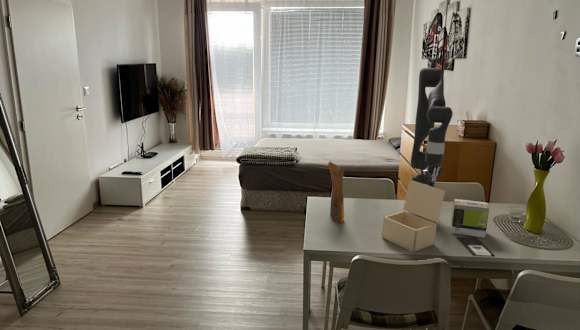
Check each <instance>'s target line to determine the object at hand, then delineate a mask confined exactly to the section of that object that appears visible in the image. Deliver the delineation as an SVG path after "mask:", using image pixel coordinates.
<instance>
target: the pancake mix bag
mask: <svg viewBox="0 0 580 330" xmlns="http://www.w3.org/2000/svg"><path fill="white" fill-rule="evenodd" d="M327 164H328V169H329V172H330V178H331V184H332V185H331V198H330V209H329V211H330V216H331V217H332V219H333V220H334V222H335V223H340V224H342V223H343V222H344V220H345V207H344V191H343V190H344V185H343V184H344V170H343V169H342V167H340V166H339V165H337V164H336V163H333V162H332V161H331V160H330V161H329V162H328V163H327Z"/></svg>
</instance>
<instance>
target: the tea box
mask: <svg viewBox="0 0 580 330" xmlns="http://www.w3.org/2000/svg"><path fill="white" fill-rule="evenodd" d="M489 213H490V207H489V204H488V201H487V202H486V201H479V200H477V201H475V200H469V199H459V198H454V199H453V206H452V214H451V222H450V225H451V226H450V227H451V228H450V229H451V234H454V235H455V234H456V235H461V236H462V235H463V236H467V237H476V238H483V239H485V238H486V234H487V227H488V223H489V222H488V220H489Z"/></svg>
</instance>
